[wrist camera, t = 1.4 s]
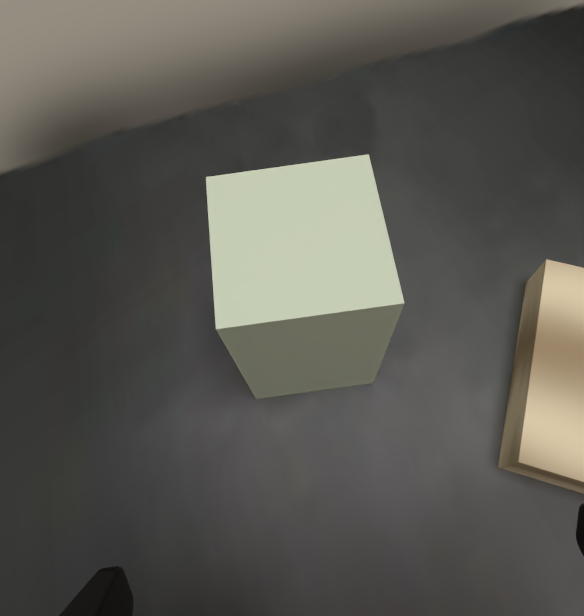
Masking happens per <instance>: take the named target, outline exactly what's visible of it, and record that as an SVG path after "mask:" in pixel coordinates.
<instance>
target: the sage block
mask: <svg viewBox="0 0 584 616" xmlns="http://www.w3.org/2000/svg"><path fill="white" fill-rule="evenodd" d="M206 186H207V201H208V216H209V232H210V247H211V262H212V277H213V293H214V308H215V323H216V330H217V332H218V334H219V336H220V337H221V339H222V341H223V343H224V344H225V346H226V348H227V349H228V351H229V353H230V355H231V356H232V358H233V360H234V362H235V363H236V365H237V367H238V369H239V370H240V372H241V374H242V376H243V377H244V379H245V381H246V383H247V384H248V386H249V388H250V390H251V391H252V393H253V395H254V396H255V398H256V399H260V398H268V397H275V396H282V395H290V394H297V393H304V392H311V391H319V390H326V389H333V388H340V387H348V386H355V385H362V384H370V383H374V380H375V378H376V375H377V373H378V370H379V367H380V365H381V362H382V360H383V357H384V354H385V352H386V349H387V347H388V344H389V342H390V339H391V336H392V334H393V331H394V329H395V326H396V324H397V321H398V318H399V316H400V313H401V311H402V308H403V305H404V300H403V296H402V291H401V287H400V283H399V279H398V275H397V271H396V266H395V262H394V258H393V254H392V250H391V246H390V241H389V237H388V233H387V229H386V225H385V221H384V216H383V212H382V208H381V204H380V200H379V196H378V191H377V187H376V183H375V179H374V175H373V171H372V166H371V162H370V158H369V155H362V156H355V157H347V158H340V159H333V160H326V161H319V162H311V163H304V164H297V165H290V166H283V167H276V168H268V169H261V170H254V171H247V172H240V173H232V174H225V175H218V176H211V177H206Z"/></svg>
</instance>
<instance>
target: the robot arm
mask: <svg viewBox="0 0 584 616" xmlns="http://www.w3.org/2000/svg"><path fill="white" fill-rule="evenodd" d="M576 539H577V543H578V546H579V548H580V550H581V552H582V554H583V556H584V503H583V504H581V505H580V507H579V512H578V521H577V529H576ZM132 613H133V595H132V592H131V589H130V586H129V583H128V580H127V578H126V575H125V572H124V570H123V568H122V567H119V566H116V567H109V568H103V569H100V570H99V571H98V572H97V573H96V574H95V575H94V576H93V577H92V578H91V579H90V581H89V582H88V583H87V584H86V585H85V586H84V588H83V589H82V590H81V591H80V592H79V593H78V594H77V596H76V597H75V598H74V599H73V600H72V601H71V603H70V604H69V605H68V606H67V607H66V608H65V609H64V611H63V612H62V613H61V614H60V615H59V616H132Z"/></svg>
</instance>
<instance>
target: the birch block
mask: <svg viewBox="0 0 584 616" xmlns="http://www.w3.org/2000/svg"><path fill="white" fill-rule="evenodd" d="M498 468H502V469H505V470H508V471H511V472H514V473H518V474H521V475H524V476H527V477H531V478H534V479H537V480H540V481H544V482H547V483H550V484H553V485H556V486H560V487H563V488H566V489H569V490H573V491H576V492H579V493H582V494H584V268H581V267H577V266H573V265H568V264H564V263H560V262H556V261H551V260H547V259H546V260H545V261H544V263H543V264H542V265H541V266H540V267H539V268H538V269H537V271H536V272H535V273H534V274H533V275H532V276H531V277H530V279H529V280H528V281H527V282H526V286H525V293H524V300H523V306H522V313H521V319H520V326H519V332H518V339H517V345H516V352H515V359H514V365H513V372H512V378H511V385H510V391H509V398H508V405H507V411H506V418H505V424H504V431H503V437H502V444H501V450H500V457H499V464H498Z"/></svg>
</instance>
